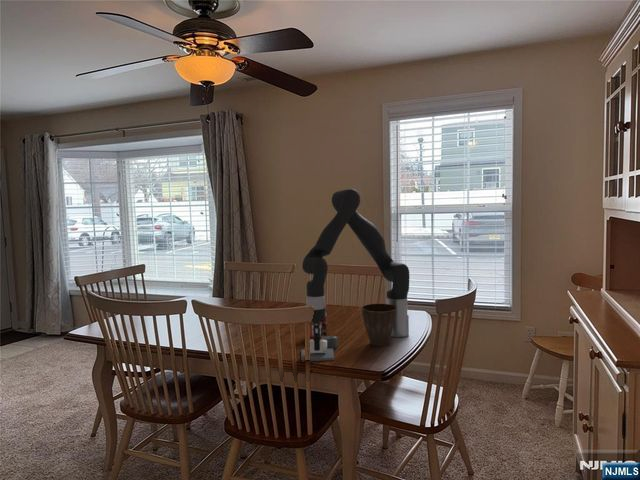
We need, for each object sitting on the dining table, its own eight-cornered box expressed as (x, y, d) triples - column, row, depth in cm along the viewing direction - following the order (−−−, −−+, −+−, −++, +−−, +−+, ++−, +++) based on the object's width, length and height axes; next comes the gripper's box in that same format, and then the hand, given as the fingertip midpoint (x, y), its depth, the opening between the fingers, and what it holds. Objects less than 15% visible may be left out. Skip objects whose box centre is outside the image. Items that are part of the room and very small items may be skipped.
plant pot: (374, 336, 204) (373, 301, 203) (403, 342, 195) (403, 306, 193) (355, 345, 193) (354, 308, 191) (385, 351, 183) (385, 313, 182)
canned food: (313, 340, 201) (312, 316, 200) (308, 335, 208) (308, 312, 207) (329, 338, 203) (328, 315, 202) (324, 333, 210) (324, 310, 209)
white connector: (326, 349, 183) (327, 339, 182) (327, 352, 179) (327, 342, 179) (304, 349, 183) (304, 339, 182) (304, 352, 179) (304, 341, 179)
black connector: (337, 345, 193) (337, 335, 193) (338, 348, 190) (337, 338, 189) (316, 346, 193) (316, 336, 193) (316, 348, 190) (316, 339, 189)
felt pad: (333, 350, 187) (332, 348, 187) (334, 360, 176) (334, 357, 176) (301, 351, 186) (301, 349, 186) (301, 361, 175) (301, 358, 175)
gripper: (325, 310, 172) (326, 354, 174) (324, 302, 186) (325, 342, 188) (306, 311, 172) (307, 354, 174) (306, 302, 186) (307, 343, 188)
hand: (317, 348), depth 181 cm, fingers closed on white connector, 3 cm apart
